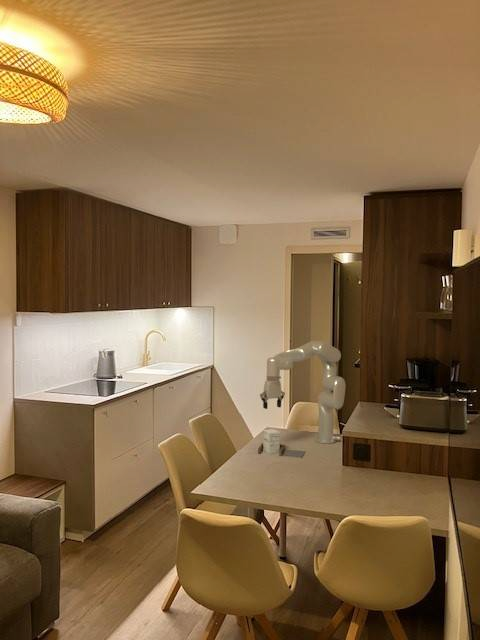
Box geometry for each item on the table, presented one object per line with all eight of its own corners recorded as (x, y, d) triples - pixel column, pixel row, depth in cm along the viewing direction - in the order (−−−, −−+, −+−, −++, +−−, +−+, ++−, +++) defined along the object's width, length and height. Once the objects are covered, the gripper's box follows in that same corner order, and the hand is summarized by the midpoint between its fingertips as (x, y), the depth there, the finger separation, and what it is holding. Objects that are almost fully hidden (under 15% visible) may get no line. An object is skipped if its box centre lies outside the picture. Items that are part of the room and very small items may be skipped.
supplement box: (262, 450, 315) (263, 429, 314) (273, 449, 318) (274, 428, 317) (268, 454, 308) (269, 432, 308) (279, 453, 311) (280, 431, 311)
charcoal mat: (304, 452, 314) (304, 451, 314) (302, 457, 303) (302, 456, 303) (286, 450, 317) (286, 449, 317) (283, 455, 306) (283, 454, 306)
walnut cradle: (284, 449, 318) (284, 444, 318) (281, 456, 305) (281, 450, 305) (262, 447, 321) (262, 442, 321) (257, 453, 309) (257, 448, 308)
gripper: (281, 377, 319) (280, 405, 320) (257, 378, 310) (256, 407, 311) (288, 378, 313) (287, 407, 313) (264, 380, 304) (263, 410, 304)
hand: (272, 407), depth 312 cm, fingers open, 9 cm apart
